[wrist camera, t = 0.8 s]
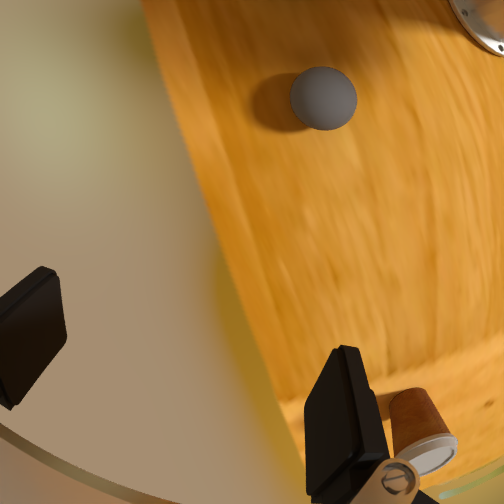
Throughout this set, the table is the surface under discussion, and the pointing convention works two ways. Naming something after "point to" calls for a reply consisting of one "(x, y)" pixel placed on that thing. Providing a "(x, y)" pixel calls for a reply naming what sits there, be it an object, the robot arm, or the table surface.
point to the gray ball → (323, 98)
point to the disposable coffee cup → (420, 432)
